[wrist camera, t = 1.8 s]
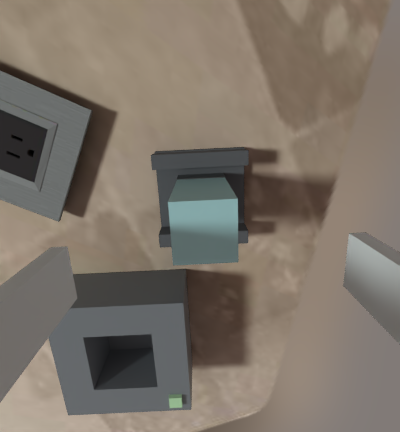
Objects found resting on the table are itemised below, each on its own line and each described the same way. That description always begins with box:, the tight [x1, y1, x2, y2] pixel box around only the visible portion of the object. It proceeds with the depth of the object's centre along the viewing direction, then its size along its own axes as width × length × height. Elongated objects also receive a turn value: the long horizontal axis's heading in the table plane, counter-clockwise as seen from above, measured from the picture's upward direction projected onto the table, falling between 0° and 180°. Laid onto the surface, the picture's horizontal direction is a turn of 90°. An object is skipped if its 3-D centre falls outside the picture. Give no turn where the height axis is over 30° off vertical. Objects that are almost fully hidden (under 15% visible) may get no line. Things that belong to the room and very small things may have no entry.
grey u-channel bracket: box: [151, 147, 248, 247], centre depth 25 cm, size 8×8×3 cm
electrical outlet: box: [0, 70, 93, 222], centre depth 24 cm, size 13×10×2 cm
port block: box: [49, 269, 192, 415], centre depth 28 cm, size 12×12×6 cm
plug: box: [168, 173, 238, 265], centre depth 21 cm, size 4×4×10 cm
